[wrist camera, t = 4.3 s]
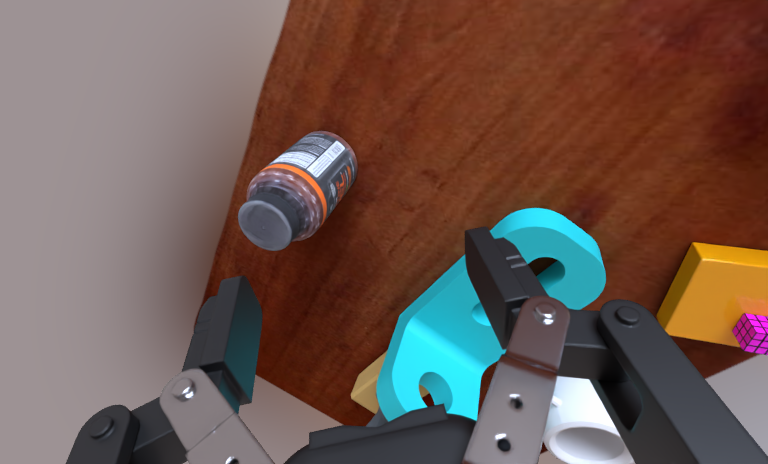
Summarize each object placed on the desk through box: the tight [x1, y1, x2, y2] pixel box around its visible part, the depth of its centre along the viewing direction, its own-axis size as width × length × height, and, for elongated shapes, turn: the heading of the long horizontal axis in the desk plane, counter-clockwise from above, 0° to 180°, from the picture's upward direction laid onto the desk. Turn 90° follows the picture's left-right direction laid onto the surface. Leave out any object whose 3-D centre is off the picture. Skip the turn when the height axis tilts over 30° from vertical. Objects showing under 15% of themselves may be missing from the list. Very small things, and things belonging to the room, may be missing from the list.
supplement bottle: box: [238, 131, 358, 251], centre depth 31 cm, size 6×6×11 cm
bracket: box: [376, 208, 606, 422], centre depth 34 cm, size 20×9×12 cm, turn 149°
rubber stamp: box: [351, 350, 429, 427], centre depth 45 cm, size 10×6×12 cm, turn 148°
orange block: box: [656, 242, 768, 355], centre depth 30 cm, size 8×8×4 cm
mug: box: [543, 376, 634, 464], centre depth 38 cm, size 12×8×8 cm
